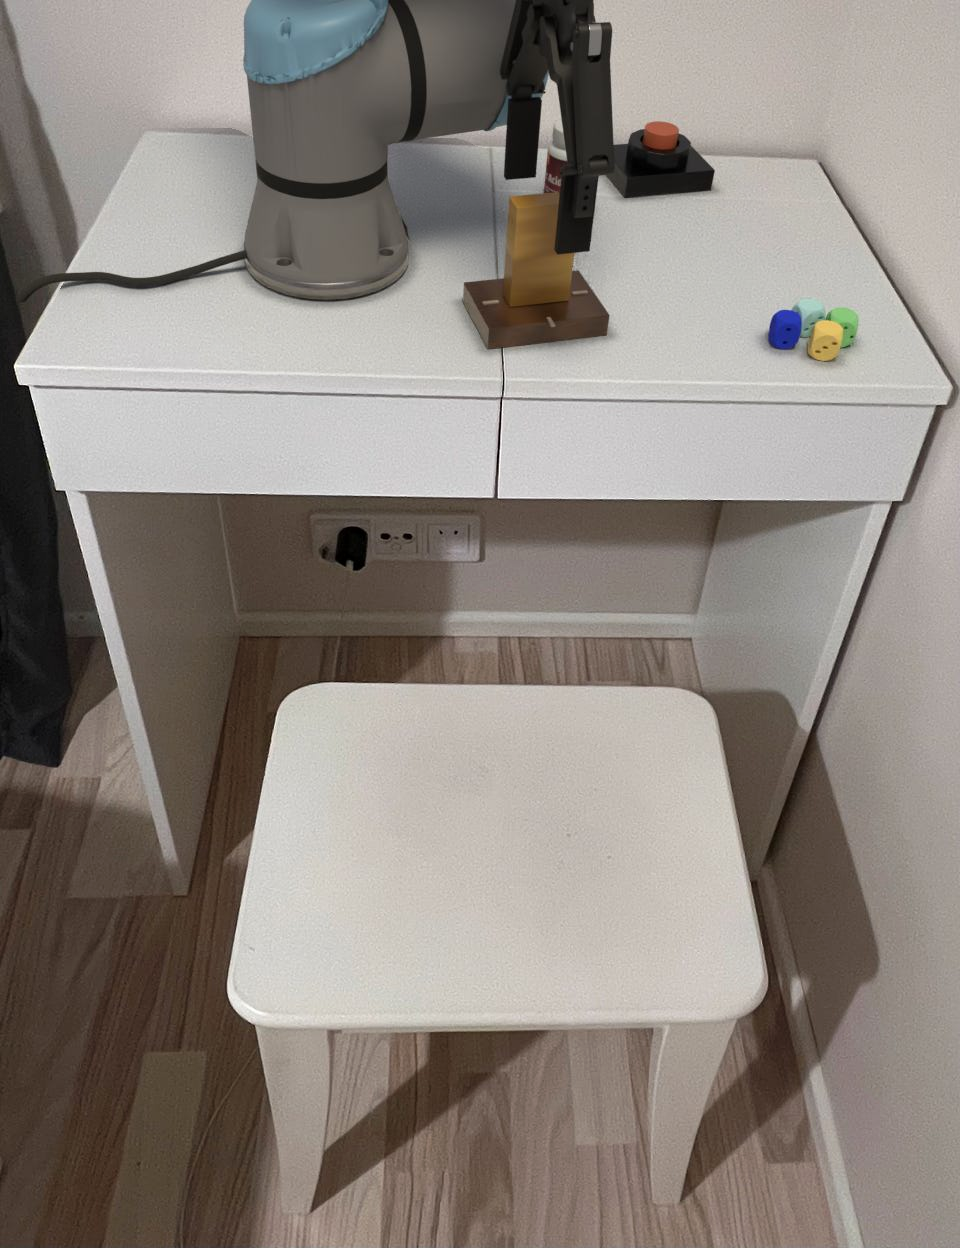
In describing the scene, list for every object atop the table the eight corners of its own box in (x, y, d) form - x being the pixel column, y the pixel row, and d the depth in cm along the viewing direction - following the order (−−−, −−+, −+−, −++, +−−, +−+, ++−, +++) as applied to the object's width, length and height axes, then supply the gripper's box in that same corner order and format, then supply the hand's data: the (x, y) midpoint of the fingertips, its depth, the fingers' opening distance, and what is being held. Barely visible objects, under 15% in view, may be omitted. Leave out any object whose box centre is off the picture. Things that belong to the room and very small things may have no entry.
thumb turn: (509, 307, 97) (517, 205, 91) (502, 294, 99) (509, 193, 92) (569, 301, 98) (580, 199, 92) (560, 288, 100) (571, 187, 93)
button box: (624, 198, 118) (630, 160, 115) (598, 165, 123) (602, 128, 120) (711, 190, 120) (718, 153, 117) (681, 158, 125) (687, 122, 122)
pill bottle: (534, 201, 116) (541, 119, 110) (574, 194, 118) (583, 113, 112) (555, 221, 113) (563, 138, 107) (596, 214, 115) (606, 131, 109)
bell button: (650, 153, 117) (652, 136, 116) (637, 138, 120) (639, 122, 118) (681, 150, 118) (684, 133, 117) (668, 136, 120) (670, 120, 119)
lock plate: (490, 354, 96) (491, 332, 94) (460, 297, 102) (461, 275, 100) (610, 340, 98) (613, 318, 96) (573, 285, 104) (575, 264, 103)
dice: (755, 330, 100) (789, 369, 96) (761, 304, 98) (797, 343, 94) (833, 319, 102) (870, 357, 98) (841, 293, 100) (879, 331, 96)
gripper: (692, -29, 70) (642, 281, 85) (562, -128, 87) (539, 146, 102) (580, -25, 68) (550, 291, 84) (469, -126, 85) (460, 153, 100)
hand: (544, 212), depth 93 cm, fingers open, 13 cm apart
